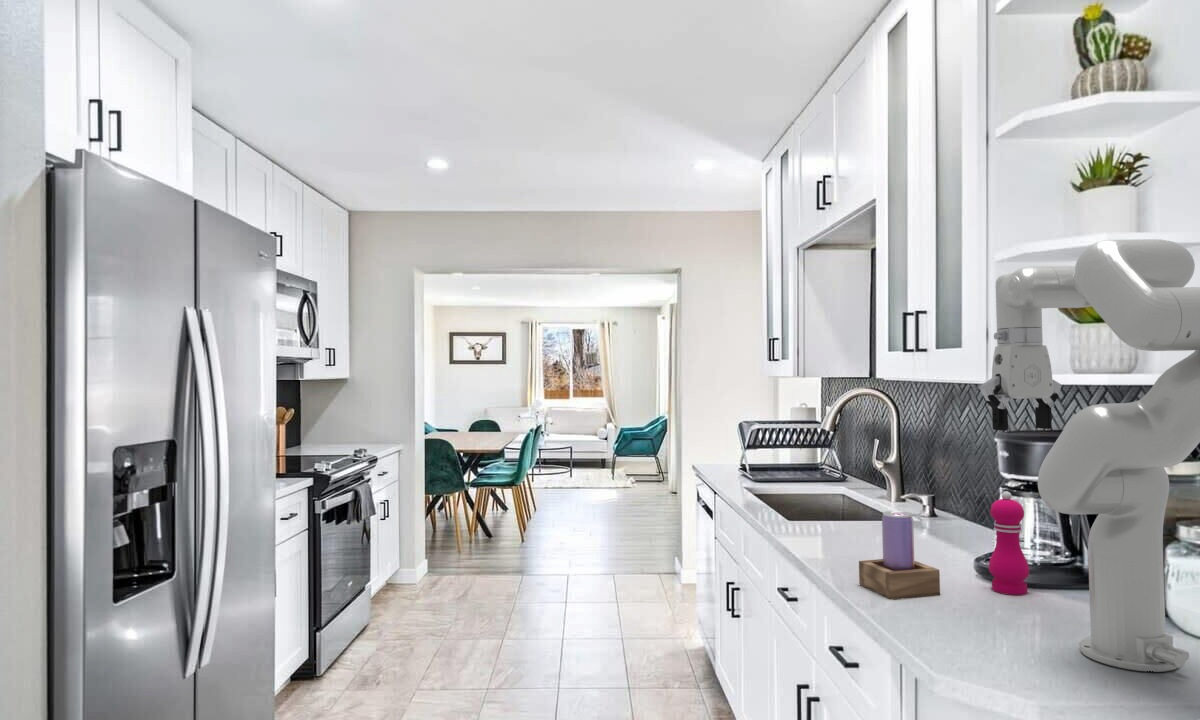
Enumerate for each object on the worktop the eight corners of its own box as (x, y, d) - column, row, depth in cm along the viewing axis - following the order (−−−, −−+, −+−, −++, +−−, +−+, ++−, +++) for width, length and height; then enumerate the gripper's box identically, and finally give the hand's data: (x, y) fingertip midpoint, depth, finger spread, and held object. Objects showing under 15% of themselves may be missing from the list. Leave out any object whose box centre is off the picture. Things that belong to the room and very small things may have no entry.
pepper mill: (1035, 596, 148) (1032, 494, 149) (995, 595, 150) (992, 493, 150) (1022, 586, 155) (1019, 489, 156) (984, 585, 157) (981, 488, 157)
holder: (940, 594, 150) (939, 569, 151) (891, 599, 148) (890, 573, 148) (905, 580, 161) (904, 557, 161) (859, 584, 159) (858, 561, 159)
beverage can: (906, 592, 150) (904, 517, 151) (878, 587, 155) (876, 513, 155) (920, 587, 154) (918, 513, 154) (892, 581, 159) (890, 509, 159)
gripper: (995, 337, 137) (998, 432, 137) (1073, 337, 141) (1076, 429, 141) (966, 339, 144) (968, 429, 144) (1041, 339, 149) (1044, 426, 148)
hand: (1022, 429), depth 142 cm, fingers open, 9 cm apart
